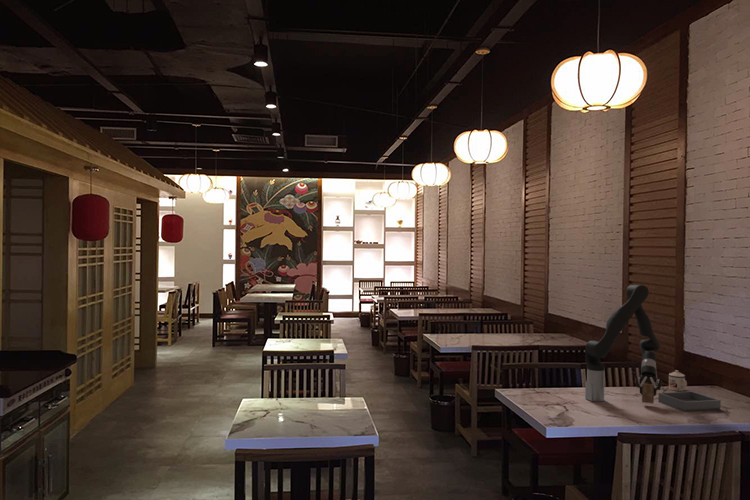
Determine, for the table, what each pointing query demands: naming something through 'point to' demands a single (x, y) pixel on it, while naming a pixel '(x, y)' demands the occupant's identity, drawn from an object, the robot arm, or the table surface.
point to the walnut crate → (648, 392)
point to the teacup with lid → (677, 381)
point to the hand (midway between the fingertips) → (648, 394)
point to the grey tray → (689, 401)
